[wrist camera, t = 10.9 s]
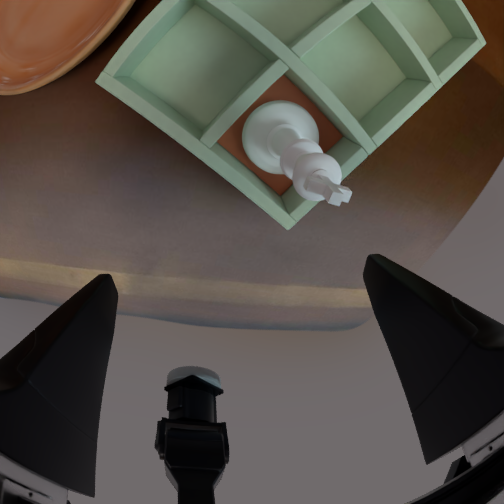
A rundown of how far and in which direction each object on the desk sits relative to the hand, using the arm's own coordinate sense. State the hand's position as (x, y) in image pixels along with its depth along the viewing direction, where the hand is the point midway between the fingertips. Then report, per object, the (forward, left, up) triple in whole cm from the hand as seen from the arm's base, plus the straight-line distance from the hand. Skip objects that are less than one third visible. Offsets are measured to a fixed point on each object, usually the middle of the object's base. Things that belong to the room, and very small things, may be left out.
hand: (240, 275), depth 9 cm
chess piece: (0, -4, -11) cm, 12 cm away
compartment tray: (+4, -10, -12) cm, 16 cm away
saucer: (+20, 0, -12) cm, 23 cm away
